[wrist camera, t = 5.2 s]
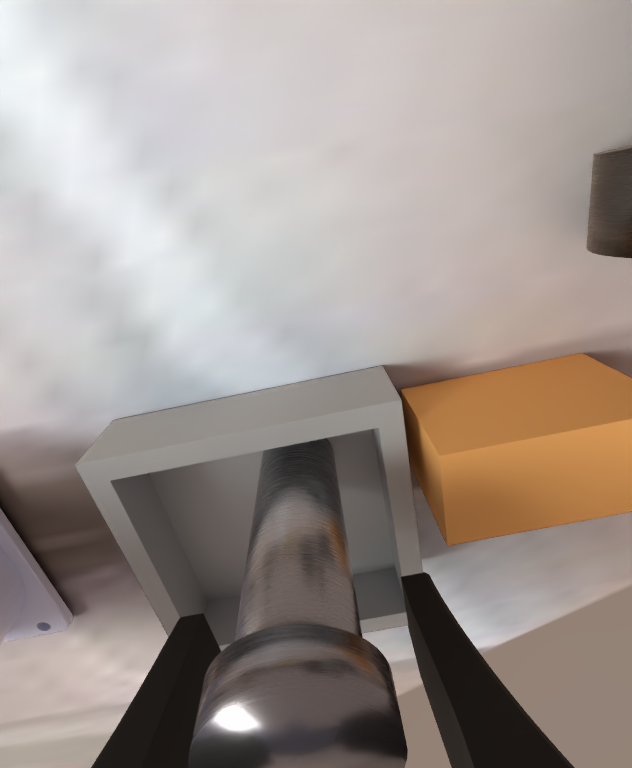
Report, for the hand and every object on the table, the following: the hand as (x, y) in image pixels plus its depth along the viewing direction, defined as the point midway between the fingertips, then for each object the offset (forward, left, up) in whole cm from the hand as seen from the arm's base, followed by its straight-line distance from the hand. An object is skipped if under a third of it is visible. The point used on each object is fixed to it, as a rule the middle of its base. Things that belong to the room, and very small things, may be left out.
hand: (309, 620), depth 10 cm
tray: (-1, 0, -5) cm, 5 cm away
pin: (0, +2, -4) cm, 5 cm away
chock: (+7, +2, -5) cm, 9 cm away
